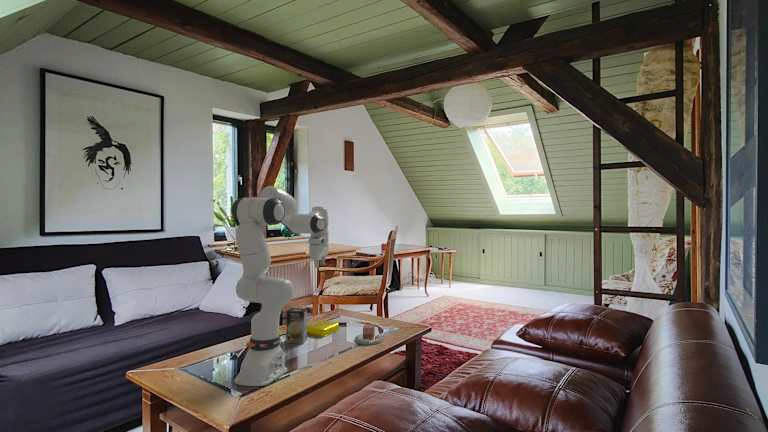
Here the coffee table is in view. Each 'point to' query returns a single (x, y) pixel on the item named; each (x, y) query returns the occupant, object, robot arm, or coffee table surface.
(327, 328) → the element tile
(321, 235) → the robot arm
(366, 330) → the block
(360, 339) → the dish
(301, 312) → the coffee box
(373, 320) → the coffee table surface
